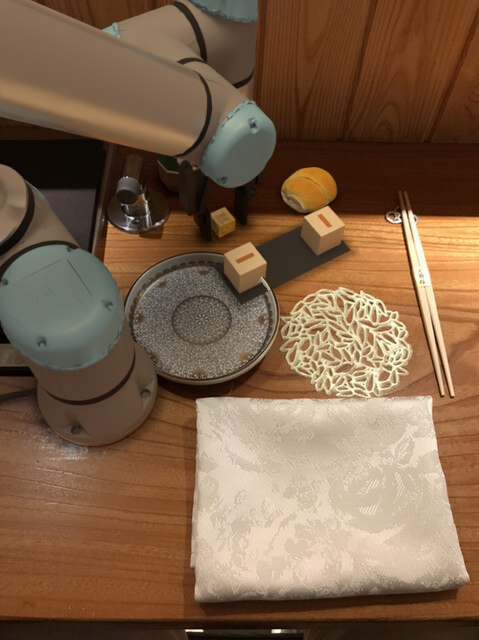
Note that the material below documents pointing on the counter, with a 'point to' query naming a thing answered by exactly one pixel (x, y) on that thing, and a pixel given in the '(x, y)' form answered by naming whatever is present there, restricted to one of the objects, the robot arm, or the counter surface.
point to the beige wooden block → (322, 230)
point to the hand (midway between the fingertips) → (222, 227)
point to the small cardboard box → (244, 267)
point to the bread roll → (309, 190)
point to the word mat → (284, 262)
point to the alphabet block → (222, 222)
